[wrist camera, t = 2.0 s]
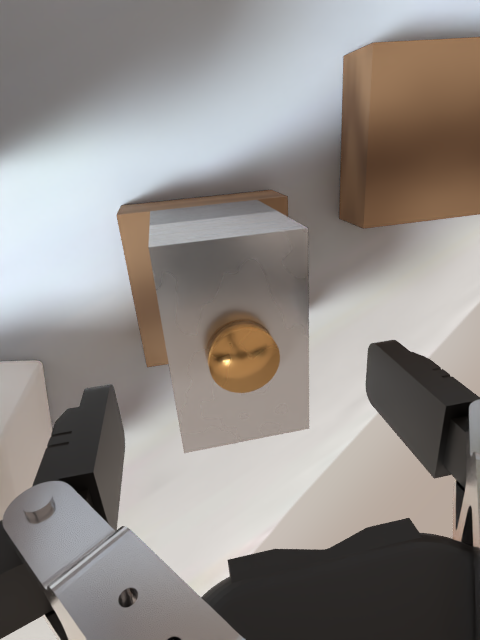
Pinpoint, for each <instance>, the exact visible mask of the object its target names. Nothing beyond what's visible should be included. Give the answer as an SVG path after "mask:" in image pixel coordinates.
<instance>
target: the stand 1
mask: <svg viewBox="0 0 480 640" xmlns="http://www.w3.org/2000/svg"><path fill="white" fill-rule="evenodd" d="M250 200H258V201H260V202H262V203H264V204H266V205H268V206H269V207H271V208H273V209H275V210H277V211H278V212H280V213H282V214H284V215H286V216H287V217H288V196H285V195H283V194H280V193H278V192H275V191H273V190H264V191H254V192H245V193H235V194H226V195H216V196H207V197H197V198H188V199H178V200H169V201H159V202H149V203H140V204H130V205H121V207H120V209H119V211H118V213H117V220H118V225H119V230H120V235H121V240H122V245H123V250H124V255H125V260H126V265H127V270H128V275H129V280H130V285H131V290H132V295H133V300H134V305H135V310H136V315H137V320H138V325H139V330H140V335H141V340H142V344H143V349H144V354H145V359H146V364H147V367H152V366H158V365H164V364H169V363H168V357H167V351H166V345H165V340H164V334H163V328H162V322H161V317H160V311H159V305H158V299H157V294H156V288H155V282H154V276H153V271H152V265H151V259H150V253H149V248H148V246H149V226H150V211H157V210H166V209H176V208H185V207H194V206H203V205H213V204H222V203H231V202H240V201H250Z"/></svg>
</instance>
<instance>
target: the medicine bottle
mask: <svg viewBox="0 0 480 640" xmlns="http://www.w3.org/2000/svg"><path fill="white" fill-rule="evenodd" d="M51 433H52V425H51V418H50V412H49V405H48V398H47V391H46V384H45V378H44V371H43V365H42V363H41V362H40V361H38V360H27V361H0V521H1V520H3V515H4V513H5V511H6V509H7V507H8V506H9V505H10V503H11V502H12V501H13V500H14V499H15V498H16V497H17V496H19V495H20V494H21V493H23V492H24V491H25V490H27V489H29V488H31V487H32V485H33V482H34V480H35V477H36V474H37V472H38V469H39V466H40V463H41V461H42V458H43V455H44V452H45V450H46V448H47V444H48V442H49V439H50V437H51Z"/></svg>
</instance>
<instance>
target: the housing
mask: <svg viewBox="0 0 480 640" xmlns="http://www.w3.org/2000/svg"><path fill="white" fill-rule="evenodd" d="M148 248H149V253H150V259H151V265H152V271H153V276H154V282H155V288H156V294H157V299H158V305H159V311H160V317H161V322H162V328H163V334H164V340H165V345H166V351H167V357H168V363H169V368H170V374H171V380H172V386H173V391H174V397H175V403H176V409H177V414H178V420H179V426H180V432H181V437H182V443H183V449H184V453H187V452H192V451H197V450H202V449H207V448H212V447H217V446H223V445H228V444H233V443H238V442H243V441H248V440H253V439H258V438H263V437H268V436H273V435H278V434H284V433H289V432H294V431H299V430H304V429H309V298H308V228H307V227H305V226H304V225H302V224H300V223H298V222H296V221H295V220H293V219H291V218H289V217H287V216H286V215H284V214H282V213H280V212H278V211H277V210H275V209H273V208H271V207H269V206H268V205H266V204H264V203H262V202H260V201H258V200H250V201H240V202H231V203H222V204H213V205H203V206H194V207H185V208H176V209H166V210H157V211H150V226H149V246H148Z"/></svg>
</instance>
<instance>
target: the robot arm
mask: <svg viewBox="0 0 480 640" xmlns="http://www.w3.org/2000/svg"><path fill="white" fill-rule="evenodd" d="M366 392H367V396H368V399H369V401H370V403H371V404H372V406H373V407H374V408H375V409H376V410H377V411H378V413H379V414H380V415H381V416H382V417H383V418H384V420H385V421H386V422H387V423H388V424H389V426H390V427H391V428H392V429H393V430H394V432H395V433H397V435H398V436H399V437H400V439H401V440H402V441H403V442H404V443H405V445H406V446H407V447H408V448H409V449H410V450H411V451H412V453H413V454H414V455H415V456H416V457H417V459H418V460H419V461H420V462H421V463H422V464H423V466H424V467H425V468H426V469H427V470H428V472H429V473H430V474H431V475H432V476H433V478H438V477H443V476H448V475H453V477H454V478H455V483H454V489H453V539H451V538H448V537H444V536H439V535H434V534H427V533H419V532H418V530H417V529H416V527H415V526H414V524H413V523H412V521H411V520H410V518H406V519H402V520H398V521H394V522H389V523H385V524H380V525H376V526H372V527H368V528H365V529H364V530H362V531H360V532H358V533H356V534H355V535H353V536H351V537H349V538H347V539H345V540H344V541H342V542H340V543H338V544H336V545H335V546H333V547H331V548H329V549H325V550H304V549H301V550H300V549H273V550H268V551H264V552H260V553H256V554H251V555H247V556H242V557H238V558H234V559H230V560H228V566H229V574H230V577H228V578H226V579H225V580H223V581H221V582H220V583H218V584H217V585H215V586H214V587H212V588H211V589H210V590H209V591H208V592H207V593H206V594H204V595H203V596H202V597H200V596H199V595H198V594H197V593H196V592H195V591H194V590H193V589H192V588H191V587H190V586H189V585H187V584H186V583H185V582H184V581H183V580H182V579H181V578H180V577H179V576H178V575H177V574H176V573H175V572H174V571H173V570H172V569H171V568H170V567H169V566H168V565H167V564H166V563H165V562H164V561H163V560H161V559H160V558H159V557H158V556H157V555H156V554H155V553H154V552H153V551H152V550H151V549H150V548H149V547H148V546H147V545H146V544H145V543H144V542H143V541H142V540H141V539H140V538H139V537H138V536H137V535H135V534H134V533H133V532H132V531H131V530H130V529H129V528H127V527H125V526H122V527H120V528H119V529H118V530H117V521H118V511H119V501H120V491H121V482H122V472H123V462H124V452H125V437H124V430H123V425H122V421H121V416H120V412H119V408H118V403H117V399H116V395H115V391H114V388H113V386H112V385H105V386H99V387H93V388H87V389H85V390H84V393H83V397H82V400H81V403H80V407H76V408H70V409H67V410H66V411H65V412H64V413H63V414H62V416H61V417H60V418H59V419H58V420H57V421H56V422H55V425H54V428H53V431H52V433H51V437H50V439H49V442H48V444H47V448H46V450H45V452H44V455H43V458H42V461H41V463H40V466H39V469H38V472H37V474H36V477H35V480H34V482H33V485H32V487H31V488H29V489H27V490H25V491H24V492H23V493H21V494H20V495H19V496H17V497H16V498H15V499H14V500H13V501H12V502H11V503H10V505H9V506H8V507H7V509H6V511H5V513H4V515H3V520H1V521H0V639H1V638H3V637H5V636H7V635H8V634H10V633H12V632H14V631H16V630H18V629H19V628H21V627H23V626H25V625H27V624H28V623H30V622H32V621H34V620H36V619H38V618H39V617H41V616H43V617H44V619H45V621H46V622H47V624H48V625H49V627H50V628H51V630H52V632H53V633H54V635H55V636H56V638H57V640H480V397H478V396H477V395H476V394H474V393H473V392H472V391H470V390H469V389H468V388H466V387H465V386H464V385H463V384H461V383H460V382H458V381H457V380H456V379H455V378H454V377H450V375H449V374H448V373H447V372H446V371H444V370H443V369H442V370H441V368H440V367H439V366H438V365H436V364H435V363H434V362H433V361H431V360H430V359H428V358H426V357H424V356H421V355H419V354H416V353H414V352H410V351H409V350H408V349H406V348H405V347H404V346H402V345H401V344H400V343H399V342H397V341H396V340H390V341H384V342H377V343H372V344H370V346H369V348H368V357H367V373H366ZM116 530H117V531H116Z"/></svg>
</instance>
